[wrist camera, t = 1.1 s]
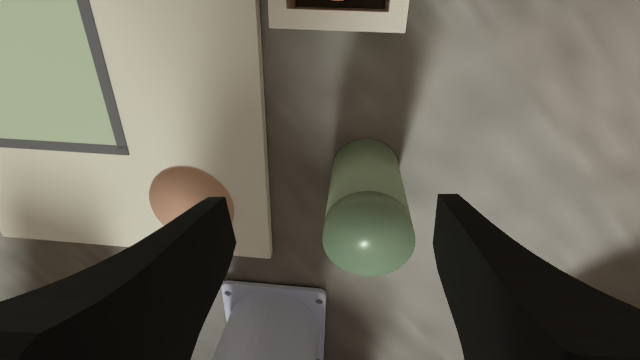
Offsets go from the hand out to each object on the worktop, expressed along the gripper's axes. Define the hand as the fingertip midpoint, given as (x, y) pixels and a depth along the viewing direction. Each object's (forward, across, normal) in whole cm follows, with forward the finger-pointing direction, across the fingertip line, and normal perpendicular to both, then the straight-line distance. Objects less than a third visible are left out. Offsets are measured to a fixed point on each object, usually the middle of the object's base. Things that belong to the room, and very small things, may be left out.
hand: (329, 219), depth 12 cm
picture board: (+9, +14, -1) cm, 17 cm away
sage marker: (+9, -1, +3) cm, 10 cm away
